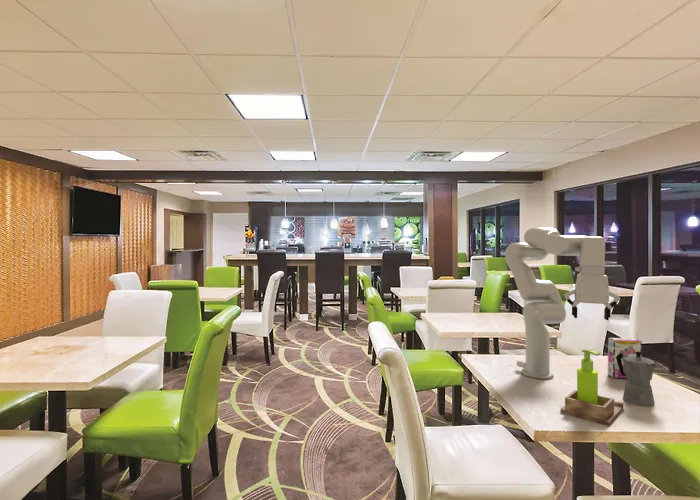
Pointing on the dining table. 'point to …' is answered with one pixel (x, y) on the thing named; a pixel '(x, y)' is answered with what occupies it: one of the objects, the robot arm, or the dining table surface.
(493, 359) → the dining table surface
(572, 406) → the wooden tray
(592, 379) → the soap dispenser
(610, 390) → the dining table surface
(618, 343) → the candy bar box
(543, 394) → the dining table surface
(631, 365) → the coffeepot
